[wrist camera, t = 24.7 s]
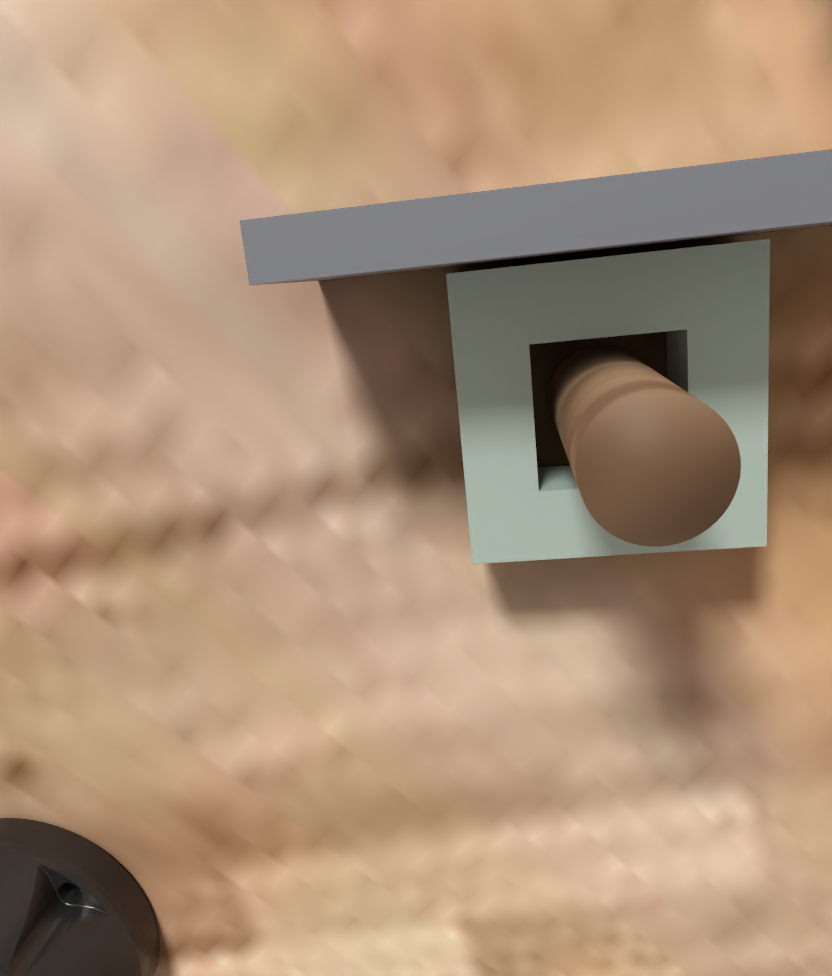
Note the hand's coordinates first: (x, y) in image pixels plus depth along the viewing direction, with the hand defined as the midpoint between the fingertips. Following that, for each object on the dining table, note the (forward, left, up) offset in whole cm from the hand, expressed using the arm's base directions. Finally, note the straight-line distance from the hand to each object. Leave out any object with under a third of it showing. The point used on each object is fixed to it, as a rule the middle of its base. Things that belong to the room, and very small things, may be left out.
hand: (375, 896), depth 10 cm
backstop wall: (+9, -6, -27) cm, 30 cm away
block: (+2, -6, -27) cm, 28 cm away
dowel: (+2, -6, -27) cm, 28 cm away
